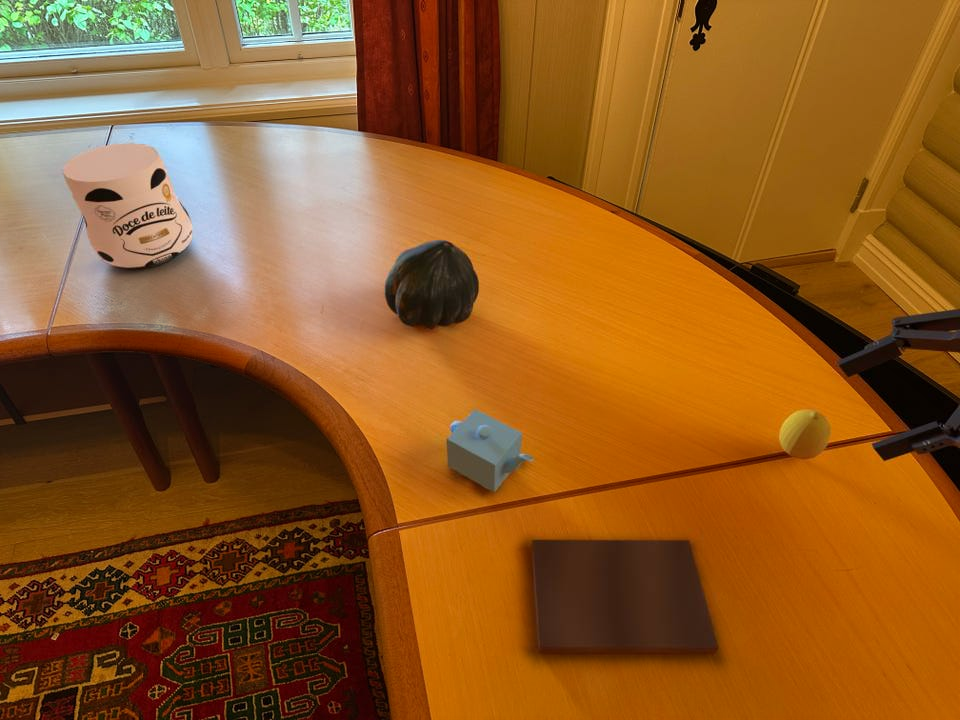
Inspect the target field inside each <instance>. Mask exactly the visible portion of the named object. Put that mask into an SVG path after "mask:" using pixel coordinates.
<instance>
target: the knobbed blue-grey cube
mask: <svg viewBox="0 0 960 720" xmlns="http://www.w3.org/2000/svg"><path fill="white" fill-rule="evenodd" d="M449 431H450V432H451V433H450V435H449V436H448V437H447V438H446V439H445V440H446V454H447V467H449V468H450V469H452V470H454V471H456V472H457V473H459V475H462V476H464V477H466V478H468V479H470V480H471V481H472V482H475V483H477V484H479V485H480V486H482V487H483V488H484V489H485V490H489V491H490V492H492V493H496V491H497V490H498V489H499V488H500V486H502V484H503V483H504V481H505V480H506V478H507V477H508V476H510V474H511V473H514V472H515V471H517V470H518V469H519V468H520V466H521V465H522V463H523V462H533V461H534V458H533V457H532V456H531V455H529V454H527V453H521V452H522V440H523V439H522V438H523V432H522V431H519V430H518V429H515V428H513V427H511V426H510V425H508V424H506V423H504V422H502V421H501V420H498V419H496V418H494V417H492V416H490V415H488V414H487V413H484V412H482V411H480V410H478V409H476V408H474V409H472V410H471V412H470V413H469V414H468V415H467V416H466V417H465V418H464V419H463V421H462V420H455V421H453V422H452V423H451V424H450V426H449Z"/></svg>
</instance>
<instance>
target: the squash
mask: <svg viewBox="0 0 960 720" xmlns="http://www.w3.org/2000/svg"><path fill="white" fill-rule="evenodd" d="M478 277H479V276H478V274H477V272H476V271H475V269H474V265H473V263H472V260H471V259H470V257H469V256H468V254H467V253H466V252H465V251H463V249H461V248H459V247H458V246H456V245H454V243H452V242H451V241H448V240H445V239H436V240H435V239H434V240H430V241H426V242H423V243H420V244H418V245H416V246H414V247H411V248H408V249H405V250H404V251H402V252H400V254H399V255H398V256H397V257H396V259H395V261H394V264H393V265H392V267H391V268H390V269H389V272H388V274H387V277H386V279H385V281H384V298H385V301H386V304H387V307H388V308H389V309H390V311H392V312H393V313H394V314H395V315H397V317H398V318H399V321H400V322H401V323H402V324H403V325H406V326H408V327H410V328H411V327H412V328H416V327H420V326H423V327H424V328H425V329H428V330H434V329H436V328H437V327H438V326H439V327H448V326H450V325H452V324H460V323H463V322H465V321H467V320H468V319H469V318H470V316H471V314H472V312H473V309H474V306H475V305H474V304H475V302H476V301H477V298H478V295H479V292H480V281H479V278H478Z"/></svg>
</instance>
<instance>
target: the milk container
mask: <svg viewBox="0 0 960 720" xmlns="http://www.w3.org/2000/svg"><path fill="white" fill-rule="evenodd" d="M62 175H63V177H64V180H65V182H66V185H67V186H68V189H69V191H70V193H71V195H72V198H73V200H74V202H75V204H76V205H77V208H78V209H79V211H80V213H81V215H82V217H83V219H84V223H85V230H86V235H87V239H88V241H89V243H90V246H91V247H92V249H93V250H94V252H95V253H96V255H97V256H98V257H99V258H100V259H101V260H102V261H103V262H104V263H106V264H108V265H110V266H113V267H114V268H120V269H128V270H135V269H136V270H137V269H147V268H151V267H155V266H160V265H162V264H165V263H167V262H169V261H172V260H174V259H175V258H176V257H178V256H179V255H181V254H182V253H184V252H185V251H186V250H187V248H188V247H189V246H190V245H191V243H192V240H193V236H194V230H193V225H192V220H191V217H190V215H189V212H188V210H187V209H186V208H185V206H184V205H183V203H182V202H181V201H180V200H179V198H178V196H177V194H176V192H175V189H174V186H173V183H172V181H171V178H170V174H169V173H168V171H167V167H166V164H165V163H164V160H163V159H162V157H161V155H160V153H159V152H158V150H157V149H156V148H155V147H153V146H151V145H148V144H144V143H137V142H125V143H123V142H122V143H121V142H120V143H113V144H108V145H107V144H106V145H103V146H98V147H95V148H91V149H88V150H84V151H83V152H81V153H79V154H77V155H75V156H73V157H72V158H70V159H69V160H68V161H67V162H65V164H64V166H63V168H62Z"/></svg>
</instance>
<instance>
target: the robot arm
mask: <svg viewBox="0 0 960 720" xmlns="http://www.w3.org/2000/svg"><path fill="white" fill-rule="evenodd" d="M890 323H891V325H892V329H891V332H890V333H889V334H888V335H886V336H884V337H882V338H879V339H876V340H874V341H873V342H870V343H868V344H867V345H865V346H864V349H862V350H860V351H857V352H856V353H853V354H850V355H848V356H846V357H844V358H840V359H839V360H836V363H837V365H838V366H839V368H840V369H841V370H842V372H843V374H844V375H846V377H847V378H850V377H852V376H855V375H858V374H860V373H862V372H864V371H868V370H870V369H871V368H874V367H877V366H879V365H882V364H884V363H886V362H889V361H891V360H894V359H896V358H898V357H900V356H903V353H902V352H904V353H905V352H906V350H920V351H930V352H931V351H933V352H945V353H946V352H947V353H958V354H960V308H956V309H955V308H954V309H947V310H941V311H940V310H939V311H934V312H926V313H918V314H912V315H904V316H897V317H894V318H892V319H891V321H890ZM871 446H872V449H873V450H874V451H875V453H877V455H878V456H879V457H880V459H881V460H882V461H883V462H886V461H889V460H892V459H896V458H899V457H901V456H904V455H908V454H910V453H913V452H915V453H916V454H917V455H925V454H929V453H932V452H935V451H937V450H941V449H943V448H946V447H952V446H953V447H957V448H958V449H959V450H960V404H959V405H958V406H957V408H956V409H955V410H954V412H953V413H952V414H951V416H950V417H949V418H948V419H947V421H946V422H945V423H942V422H940V423H938V421H937V420H935V421H932V422H928V423H927V424H923V425H920V426H917V427H915V428H912V429H910V430H906V431H903V432H901V433H898V434H895V435H892V436H889V437H886V438H883V439H881V440H880V439H879V440H878V441H875V442H872V443H871Z"/></svg>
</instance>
